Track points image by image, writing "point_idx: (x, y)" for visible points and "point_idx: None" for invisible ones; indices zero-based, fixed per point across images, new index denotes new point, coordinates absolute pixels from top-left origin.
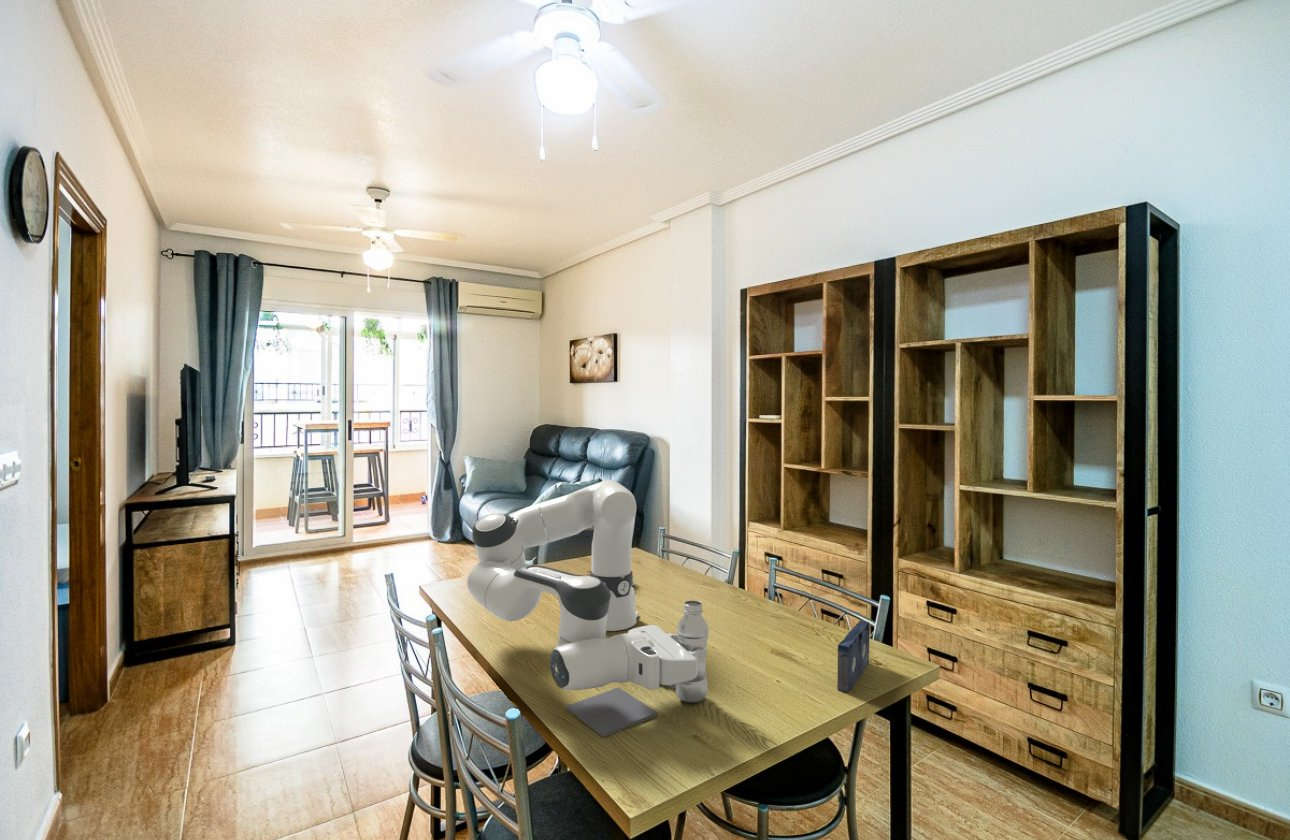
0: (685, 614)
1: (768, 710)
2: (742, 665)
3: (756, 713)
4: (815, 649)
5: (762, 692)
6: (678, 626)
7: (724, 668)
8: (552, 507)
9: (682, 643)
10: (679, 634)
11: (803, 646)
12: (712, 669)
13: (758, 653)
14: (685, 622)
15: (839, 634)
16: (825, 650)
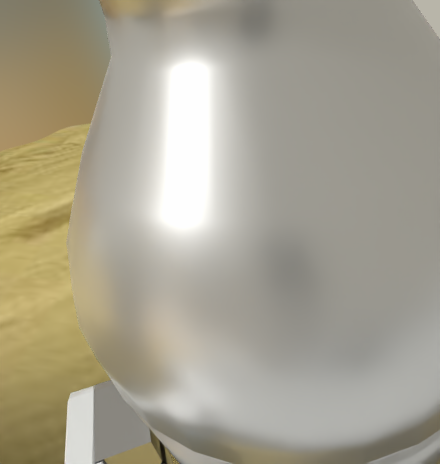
0: (291, 15)
1: None
2: (65, 304)
3: None
4: (65, 176)
5: None
6: (335, 362)
7: (58, 358)
8: None
9: (438, 455)
10: (424, 431)
11: (40, 189)
12: (44, 402)
13: (17, 261)
14: None
15: (28, 149)
16: (78, 166)
